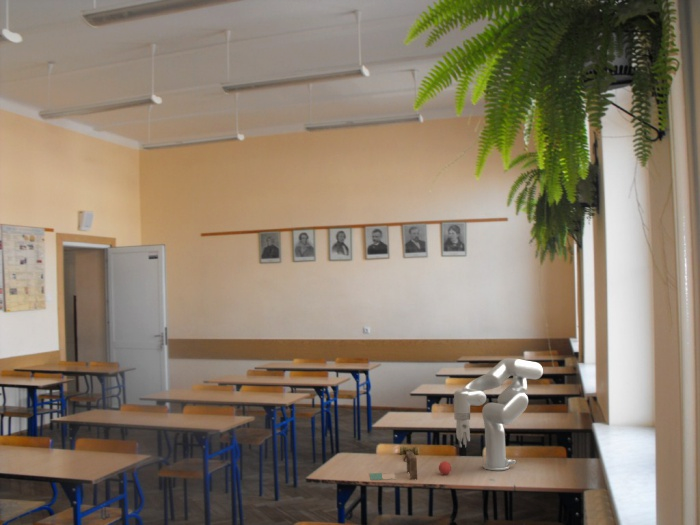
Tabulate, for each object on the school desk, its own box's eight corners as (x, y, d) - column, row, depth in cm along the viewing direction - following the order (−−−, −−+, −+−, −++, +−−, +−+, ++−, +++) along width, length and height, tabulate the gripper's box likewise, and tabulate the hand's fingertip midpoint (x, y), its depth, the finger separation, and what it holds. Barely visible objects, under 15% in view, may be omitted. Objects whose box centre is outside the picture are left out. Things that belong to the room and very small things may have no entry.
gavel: (415, 456, 340) (396, 456, 342) (415, 465, 340) (396, 465, 342) (418, 445, 361) (400, 445, 363) (419, 453, 361) (401, 453, 363)
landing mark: (394, 473, 318) (394, 472, 318) (396, 479, 306) (396, 478, 307) (369, 473, 318) (369, 473, 318) (371, 480, 306) (371, 479, 306)
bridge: (413, 471, 320) (412, 451, 321) (417, 479, 305) (416, 458, 306) (407, 471, 320) (406, 451, 321) (410, 479, 305) (410, 458, 306)
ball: (450, 472, 316) (449, 459, 317) (452, 475, 310) (452, 462, 311) (438, 473, 316) (437, 460, 317) (440, 476, 310) (439, 463, 311)
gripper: (473, 418, 308) (474, 458, 307) (466, 414, 323) (467, 452, 321) (457, 418, 308) (458, 458, 306) (451, 414, 323) (452, 452, 321)
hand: (462, 455), depth 314 cm, fingers closed
